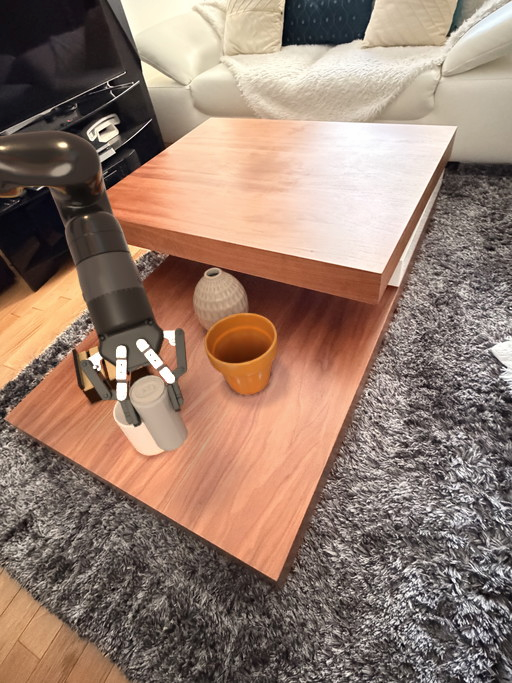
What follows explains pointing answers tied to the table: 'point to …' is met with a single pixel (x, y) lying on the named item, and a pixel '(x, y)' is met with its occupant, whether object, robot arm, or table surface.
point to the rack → (86, 384)
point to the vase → (218, 297)
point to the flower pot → (243, 350)
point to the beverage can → (158, 412)
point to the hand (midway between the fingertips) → (158, 417)
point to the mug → (136, 433)
